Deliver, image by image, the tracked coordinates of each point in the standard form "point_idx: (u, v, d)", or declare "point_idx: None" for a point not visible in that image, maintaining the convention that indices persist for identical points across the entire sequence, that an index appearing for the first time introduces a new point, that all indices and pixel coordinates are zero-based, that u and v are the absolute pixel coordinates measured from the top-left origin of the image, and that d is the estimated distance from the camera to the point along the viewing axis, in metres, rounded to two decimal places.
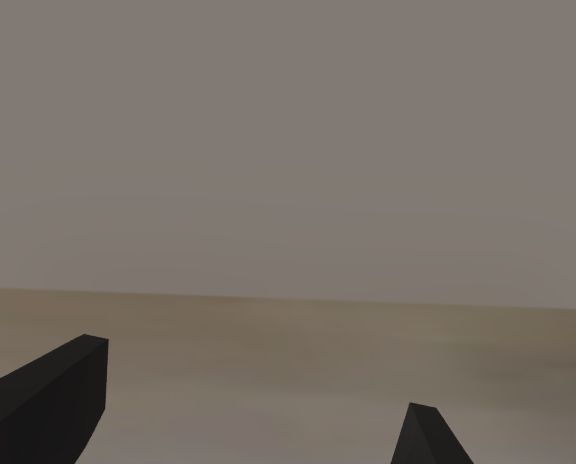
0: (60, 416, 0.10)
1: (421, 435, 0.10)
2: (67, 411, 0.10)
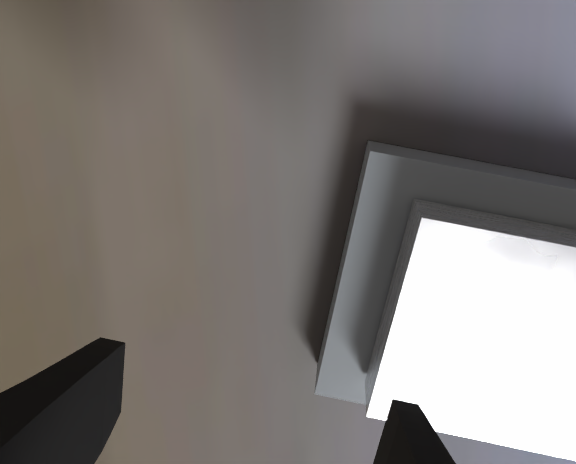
0: (79, 420, 0.10)
1: (401, 431, 0.10)
2: (86, 415, 0.10)
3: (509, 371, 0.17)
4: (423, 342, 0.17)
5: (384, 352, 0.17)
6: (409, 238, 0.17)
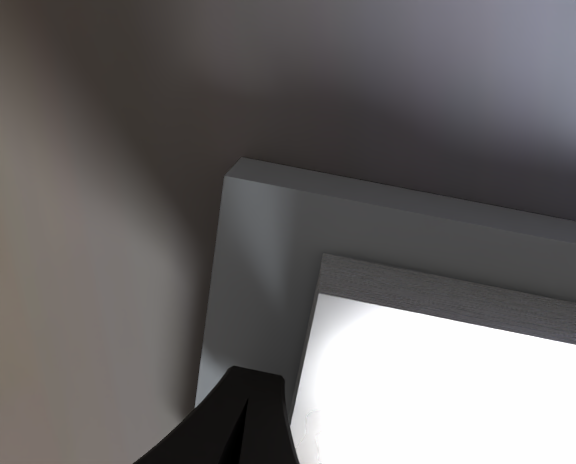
0: (233, 454, 0.10)
1: (248, 398, 0.10)
2: (236, 448, 0.10)
3: None
4: None
5: None
6: (312, 316, 0.11)
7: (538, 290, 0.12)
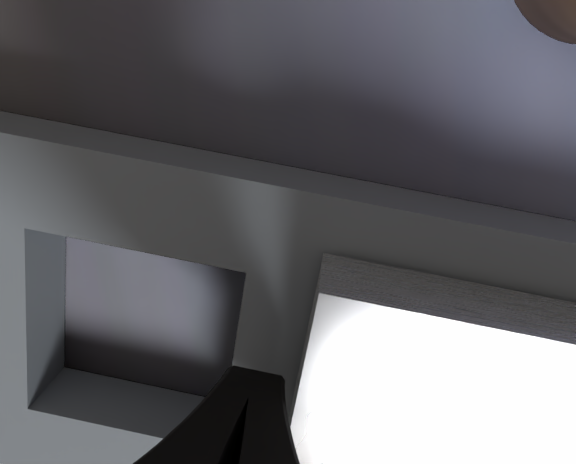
0: (233, 454, 0.10)
1: (248, 398, 0.10)
2: (236, 448, 0.10)
3: None
4: None
5: None
6: (312, 315, 0.11)
7: (216, 226, 0.12)
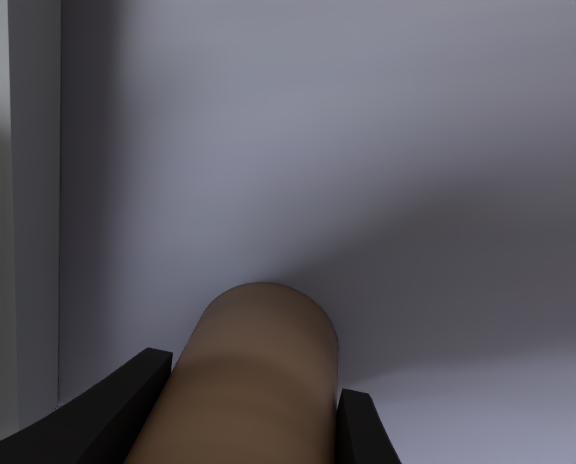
0: (135, 432, 0.10)
1: (345, 419, 0.10)
2: (140, 427, 0.10)
3: None
4: None
5: None
6: None
7: None
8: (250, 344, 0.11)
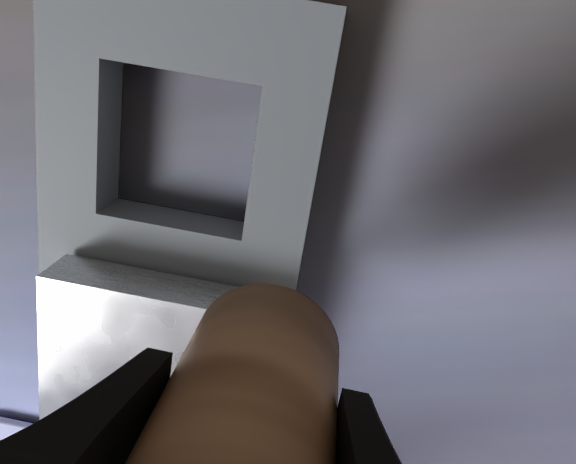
0: (134, 432, 0.10)
1: (345, 419, 0.10)
2: (139, 426, 0.10)
3: None
4: (129, 323, 0.18)
5: (112, 291, 0.17)
6: None
7: (272, 224, 0.18)
8: (250, 345, 0.11)
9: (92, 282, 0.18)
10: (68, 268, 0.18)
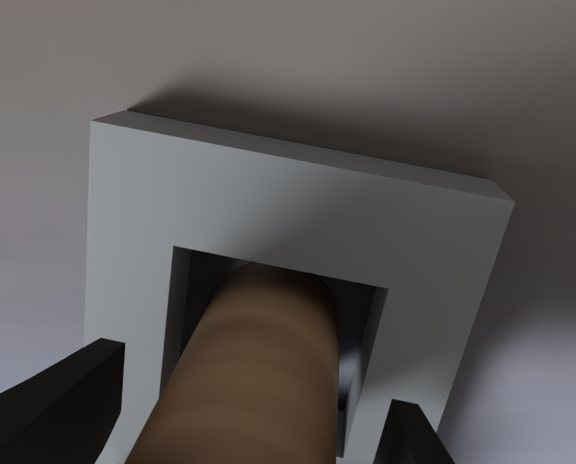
0: (79, 421, 0.10)
1: (401, 431, 0.10)
2: (86, 415, 0.10)
3: None
4: None
5: None
6: None
7: None
8: (261, 309, 0.12)
9: None
10: None
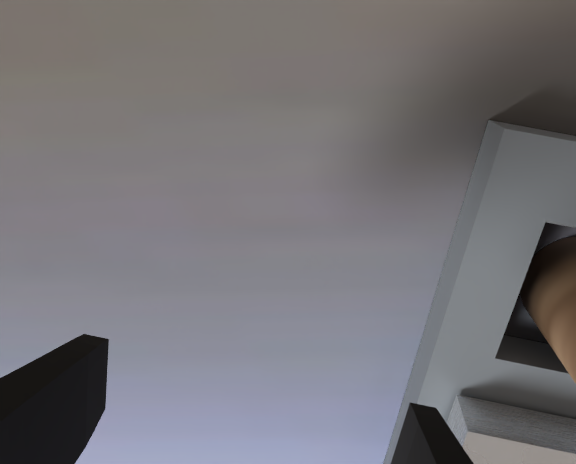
0: (59, 416, 0.10)
1: (421, 435, 0.10)
2: (67, 411, 0.10)
3: None
4: None
5: (544, 447, 0.18)
6: None
7: None
8: None
9: (518, 436, 0.18)
10: (479, 416, 0.19)
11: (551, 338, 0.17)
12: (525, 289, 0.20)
